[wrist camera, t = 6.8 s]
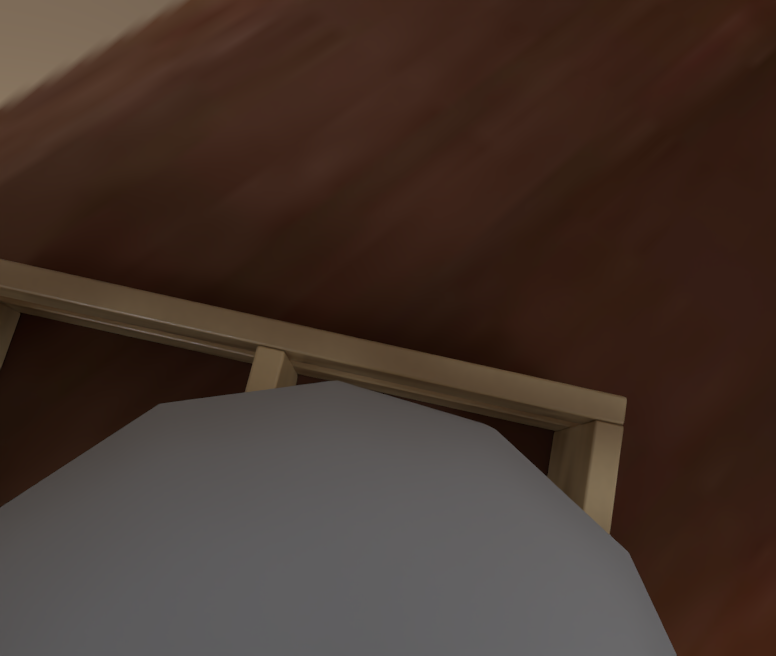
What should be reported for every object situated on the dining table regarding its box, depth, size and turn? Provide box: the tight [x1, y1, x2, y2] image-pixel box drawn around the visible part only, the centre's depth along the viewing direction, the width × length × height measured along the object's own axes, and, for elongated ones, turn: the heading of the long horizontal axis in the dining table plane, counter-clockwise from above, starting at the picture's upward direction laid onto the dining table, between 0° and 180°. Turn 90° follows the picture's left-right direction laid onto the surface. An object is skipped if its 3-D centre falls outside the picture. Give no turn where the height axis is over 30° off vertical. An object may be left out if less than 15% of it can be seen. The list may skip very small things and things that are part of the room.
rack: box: [0, 259, 627, 535], centre depth 19 cm, size 10×20×4 cm, turn 78°
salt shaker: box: [0, 380, 677, 656], centre depth 9 cm, size 6×6×13 cm
